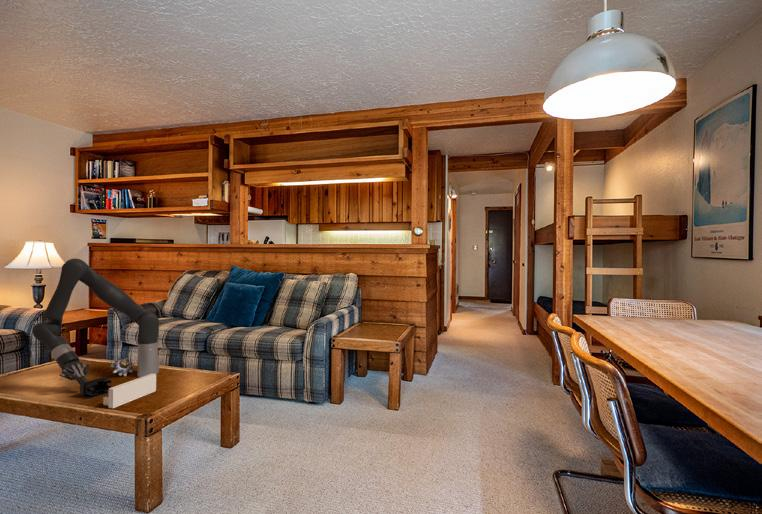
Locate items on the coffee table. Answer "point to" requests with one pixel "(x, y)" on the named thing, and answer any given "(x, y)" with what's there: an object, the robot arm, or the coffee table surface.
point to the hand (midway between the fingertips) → (84, 384)
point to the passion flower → (122, 366)
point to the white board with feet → (130, 391)
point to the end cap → (95, 387)
